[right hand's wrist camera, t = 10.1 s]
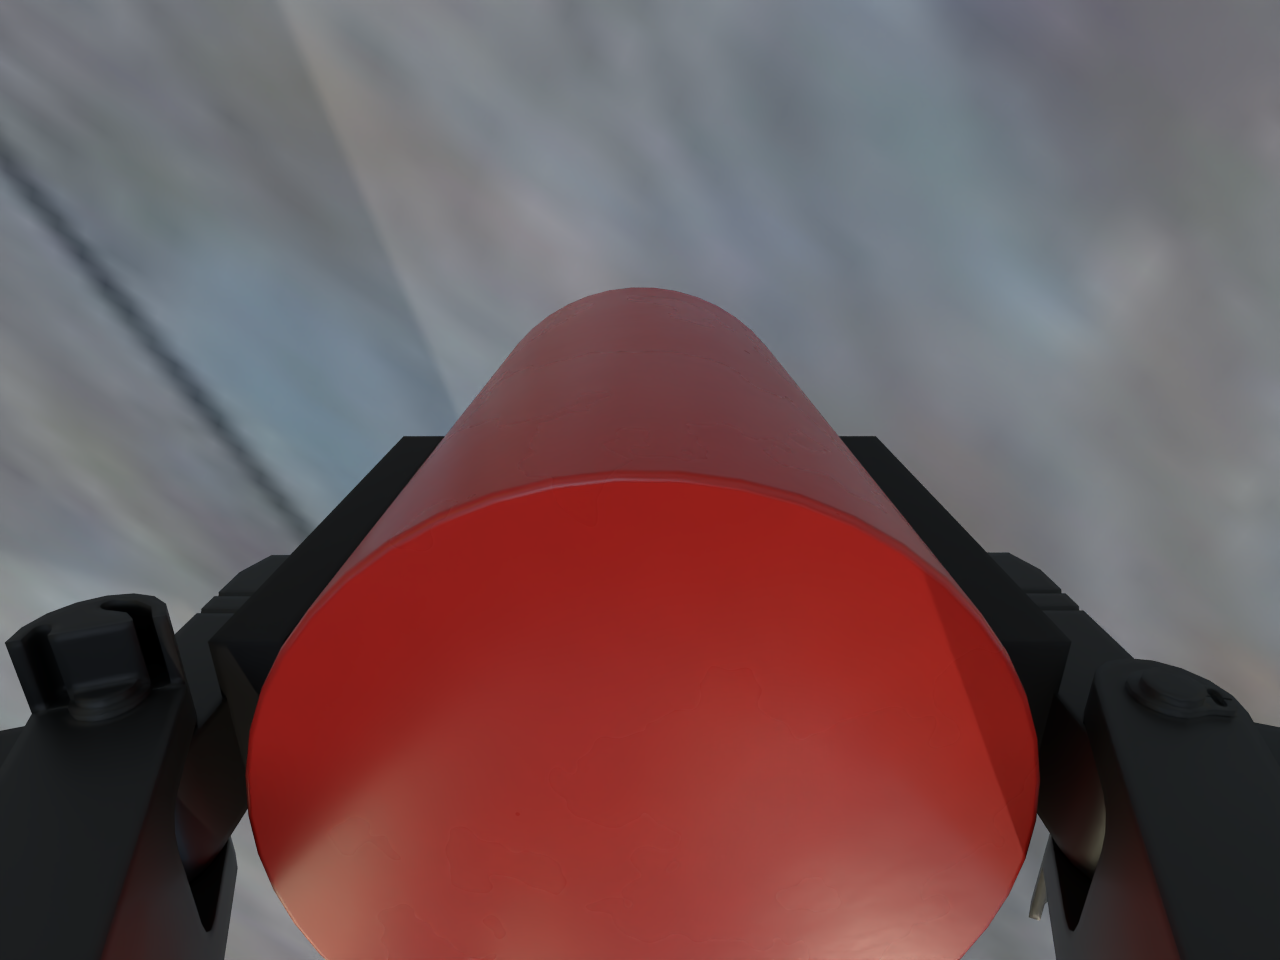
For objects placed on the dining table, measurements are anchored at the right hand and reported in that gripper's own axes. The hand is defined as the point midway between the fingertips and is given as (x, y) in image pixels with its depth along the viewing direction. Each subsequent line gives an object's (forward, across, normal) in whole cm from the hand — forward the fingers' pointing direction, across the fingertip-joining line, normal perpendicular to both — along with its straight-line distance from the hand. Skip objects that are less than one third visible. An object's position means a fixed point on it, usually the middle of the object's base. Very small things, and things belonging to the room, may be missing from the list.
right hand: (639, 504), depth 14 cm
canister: (+3, 0, 0) cm, 3 cm away
